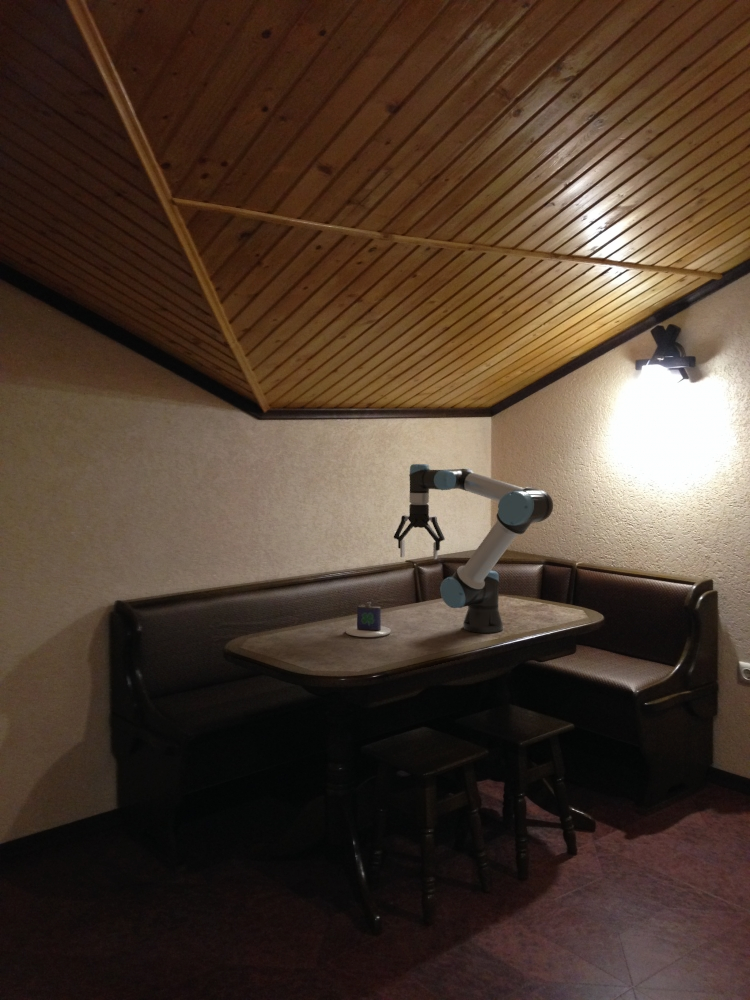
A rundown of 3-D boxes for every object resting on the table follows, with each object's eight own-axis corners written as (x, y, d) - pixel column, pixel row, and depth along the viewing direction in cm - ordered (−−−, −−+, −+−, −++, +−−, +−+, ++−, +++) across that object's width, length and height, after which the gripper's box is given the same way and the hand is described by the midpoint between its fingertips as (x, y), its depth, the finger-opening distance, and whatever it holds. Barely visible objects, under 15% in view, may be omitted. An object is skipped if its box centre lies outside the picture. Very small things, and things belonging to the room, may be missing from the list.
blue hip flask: (381, 630, 311) (381, 601, 310) (379, 631, 308) (379, 603, 307) (358, 628, 313) (358, 600, 312) (355, 630, 310) (355, 602, 309)
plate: (397, 630, 315) (397, 627, 315) (380, 640, 299) (380, 637, 299) (356, 626, 322) (356, 623, 321) (338, 636, 306) (338, 632, 306)
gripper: (452, 504, 320) (452, 558, 321) (392, 502, 329) (392, 554, 330) (447, 505, 313) (446, 560, 314) (385, 503, 322) (385, 557, 323)
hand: (418, 557), depth 322 cm, fingers open, 13 cm apart
